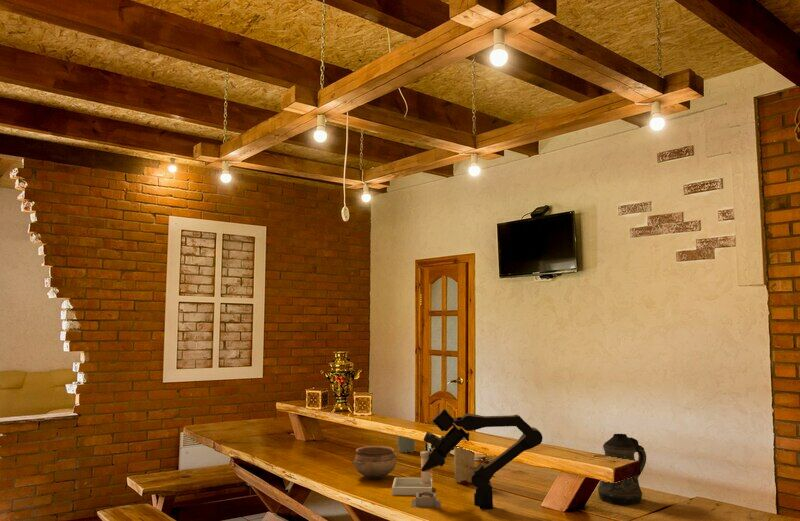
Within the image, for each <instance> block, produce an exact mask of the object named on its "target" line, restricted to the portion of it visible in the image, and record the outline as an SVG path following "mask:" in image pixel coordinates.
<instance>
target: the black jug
mask: <svg viewBox="0 0 800 521" xmlns="http://www.w3.org/2000/svg"><path fill="white" fill-rule="evenodd" d="M602 448H603V451H604V456H611V457H617V458H622V459H629V460H634V461H635V462H636V459H635V453H637V455H638V457H637V458H638V459H637V462H638V461H639V462H640V474H639V475H637V476H634V477H632V478H629V479H625V480H622V481H620V482H617V483H610V482H604V481H601V480H600V481H599V484H598V487H597V491H598V496H599V499H600V500H601V501H602V502H604V503H606V504H610V505H616V506H617V505H618V506H635V505H639V504H641V502H642V498H643V492H642V490H641V487H640V483H639V482H640V481H639V477H640V475H641V474H642V473H643V470H644V468H645V467H646V463H647V454H646V451H645V448H644V447H643V446H642V445H640V444H639V440H637V438H633V437H628V435H627V434H626V433H614V434H613V435H612V437H611V438H609V439H608V440H607V441H605V442H604V443H603V445H602Z"/></svg>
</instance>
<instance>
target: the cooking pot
mask: <svg viewBox="0 0 800 521" xmlns="http://www.w3.org/2000/svg"><path fill="white" fill-rule="evenodd" d="M355 451H356V454H355V456H354V460H352V461H351V464H353V465H354V468H355V470H356V471H357V472H358V473H359V474H360V475H362V476H363V477H366V478H367V479H369V480H381V479H383V478H384V477H386V476H388V475H390V473H392V472H393V471H394V470H395V468H396V465H397V457H398V454H397V453H394V452H395V448H393V447H390V446H383V445H368V446H360V447H358V448H356V449H355Z"/></svg>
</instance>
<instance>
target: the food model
mask: <svg viewBox="0 0 800 521" xmlns="http://www.w3.org/2000/svg"><path fill="white" fill-rule="evenodd" d="M469 439H472V437H469ZM462 440H465V438H463V439H462ZM457 447H459V448H457ZM453 451H454V452H453V460H454V464H453V465H454V466H453V467H454V481H456V482H457V483H459V484H462V485H463V484H464V485H471V484H472V481H471V472H472V471H473V468H474V467H476V465H475V463H476V462H475V457H476V456H475V451H474V452H472V451H470V450H466V449H463V447H460V446H455V447H454V450H453ZM472 485H473V484H472Z"/></svg>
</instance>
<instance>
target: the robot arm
mask: <svg viewBox="0 0 800 521" xmlns="http://www.w3.org/2000/svg"><path fill="white" fill-rule="evenodd" d="M431 422H432V423H433V424H434V425H435V426H436V427H438V429H439V430H440V431H442V432H447V433H446V434H445V435H441V436H440V437H439V436H438V435H436V434H434V433H431V431H430V432H429V431H426V432H425V435H424V438H423V442H424V443H428V444H430V446H429V447H430V448H428V449H429V450H428V451H430V452H429V459H428V460H427V462H426V463H425V464H424V466H423V467H422V469H421V468H420V471H421V470H422V471H423V472H424V471H426V470H429V469H431V470H432V469H433V468H436V467H439V466H440V467H441V468H442V467H443V466H444V465H445V464H446V458H447V457H448V454H449V453H451V451H454V447H455V446H456V445H457V444H458V443H459V442H460V441H461V440H462V439H463V438H465V439H466V440H467V441H469V438H470V432H472V431H476V430H480V429H483V428H497V427H498V428H500V427H515V428H517V429H518V430H519V431H520V432H521V436H520V437H519V439H518V440H517V441H516V442H515V443H513V444H512V445H511V446H510V447H508V448H507V449H505V450H504V451H503V452H501V453H500V454H499V455H497V456H496V457H495V458H493V459H492V460H491V461H490V462H488V463H486V464H483V462H482V461H481V462H479V463H478V465H477V466H475V467H474V468H473V471H472V472H471V481H472V486H473V487H475V492H474V493H473V504H474V506H476V507H477V506H478V507H479V510H493V509H494V500H493V493H494V492H493V491H494V490H493V485H492V483H491V479H492V478H493V476H494V475H495V474H496V473H497V472H499V470H501V469H502V468H504V467H505V466H506V465H507V464H509V463H510V462H512V461H513V460H514V459H515V458H517V457H518V456H520V455H521V454H522V453H523V452H526V451H528V450H531V449H533V448H535V447H537V446H539V445H540V444H542V443H543V434H542V432H541V431H540V430H539V429H538V428H536V427H534V426H533V427H532V426H530V425H529V423H528V422H526V421H525V420H524V419H523V418H522V417H521V416H520V415H519V414H514V415H485V416H484V415H481V414H480V415H479V414H473V413H465V414H463V415H462V416H458V417H453V416H452V415H451V414H450V413H449V412H448V410H447V409H446V408H443V410H441V411H440V412H439V413H437V414H436V415H435V416H434V417H433V418H432V420H431ZM466 431H467V432H466ZM431 448H432V449H431Z"/></svg>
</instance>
